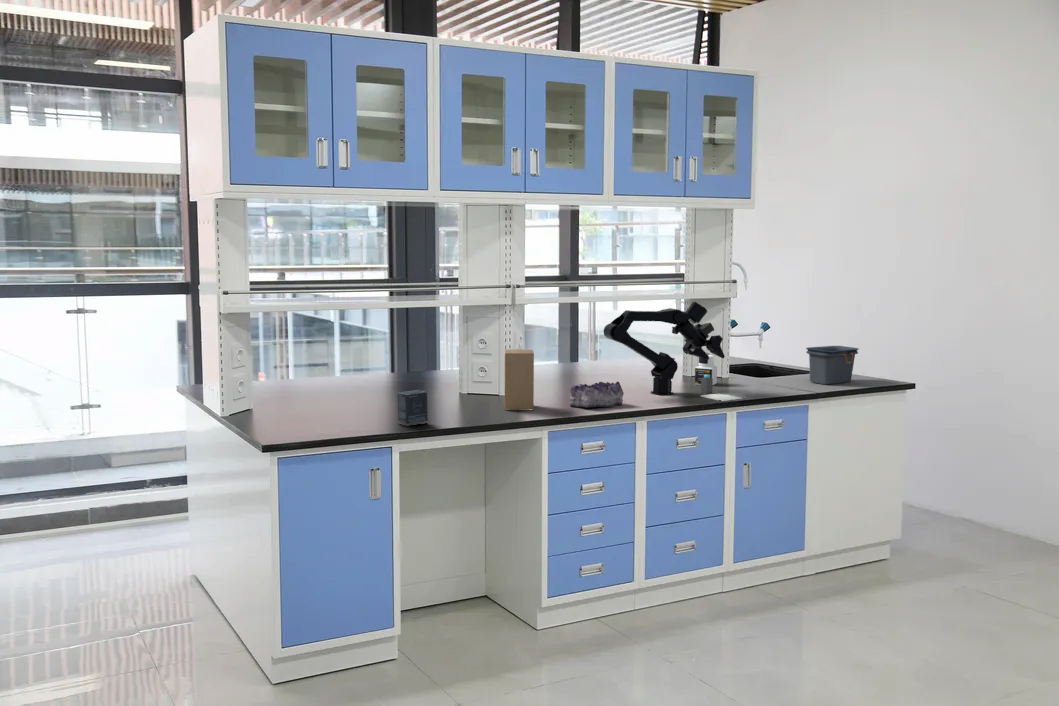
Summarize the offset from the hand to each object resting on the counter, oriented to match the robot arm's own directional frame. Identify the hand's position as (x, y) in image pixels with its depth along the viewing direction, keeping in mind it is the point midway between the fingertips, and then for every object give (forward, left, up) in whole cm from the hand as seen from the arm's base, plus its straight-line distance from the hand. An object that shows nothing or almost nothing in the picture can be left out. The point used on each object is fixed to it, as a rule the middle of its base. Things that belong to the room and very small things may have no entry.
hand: (716, 358), depth 377 cm
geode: (-58, -2, -13) cm, 60 cm away
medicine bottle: (+8, +13, -13) cm, 20 cm away
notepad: (-8, -13, -13) cm, 20 cm away
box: (-128, +3, -13) cm, 129 cm away
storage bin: (+56, -11, -13) cm, 58 cm away
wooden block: (-84, +9, -13) cm, 86 cm away
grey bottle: (-7, -3, -13) cm, 15 cm away
